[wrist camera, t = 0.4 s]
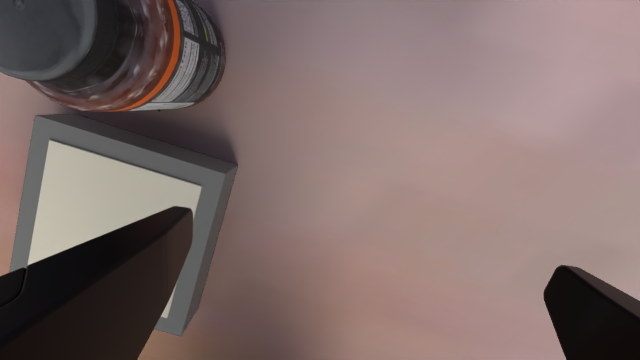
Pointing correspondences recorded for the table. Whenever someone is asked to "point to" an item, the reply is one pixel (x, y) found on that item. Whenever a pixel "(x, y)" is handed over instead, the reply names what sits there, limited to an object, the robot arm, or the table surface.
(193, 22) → the supplement bottle
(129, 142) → the plinth
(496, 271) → the table surface
